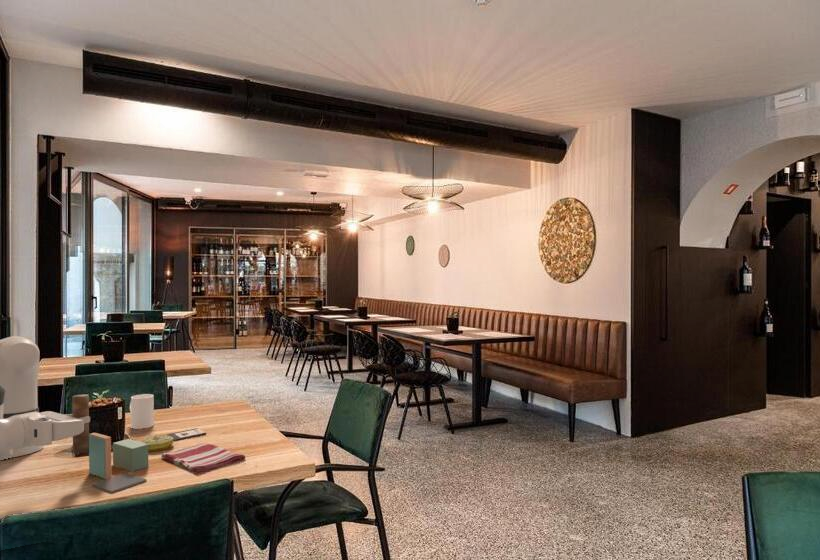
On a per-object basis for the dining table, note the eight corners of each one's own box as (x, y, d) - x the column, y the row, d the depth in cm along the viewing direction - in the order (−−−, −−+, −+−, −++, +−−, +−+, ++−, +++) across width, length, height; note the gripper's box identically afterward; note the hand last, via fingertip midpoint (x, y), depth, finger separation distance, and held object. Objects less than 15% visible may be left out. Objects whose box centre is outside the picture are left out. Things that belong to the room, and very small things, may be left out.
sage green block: (132, 471, 162) (132, 448, 162) (113, 465, 168) (112, 442, 168) (148, 466, 166) (148, 444, 166) (128, 460, 172) (128, 438, 172)
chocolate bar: (147, 438, 194) (197, 428, 207) (147, 440, 194) (197, 430, 207) (156, 443, 188) (206, 433, 200) (156, 446, 188) (206, 435, 200)
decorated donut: (172, 441, 192) (172, 431, 192) (174, 450, 182) (174, 439, 182) (140, 446, 187) (140, 435, 187) (140, 455, 178) (140, 443, 178)
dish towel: (197, 476, 159) (197, 467, 159) (159, 460, 174) (159, 451, 174) (246, 461, 172) (246, 453, 172) (207, 447, 187) (207, 439, 187)
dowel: (70, 453, 152) (69, 397, 152) (76, 449, 156) (76, 394, 156) (85, 452, 153) (85, 397, 153) (91, 448, 157) (91, 394, 157)
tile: (104, 479, 156) (104, 438, 156) (88, 473, 161) (88, 434, 161) (111, 477, 157) (110, 437, 157) (95, 471, 162) (94, 432, 162)
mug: (121, 426, 212) (121, 396, 212) (142, 421, 220) (142, 392, 220) (138, 430, 206) (137, 399, 206) (158, 425, 213) (158, 395, 213)
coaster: (111, 493, 146) (111, 491, 146) (92, 485, 151) (92, 483, 151) (146, 481, 154) (146, 479, 154) (127, 474, 160) (127, 472, 160)
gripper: (13, 434, 149) (66, 423, 161) (48, 446, 138) (102, 433, 150) (12, 412, 149) (66, 402, 161) (48, 422, 138) (102, 411, 150)
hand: (84, 417), depth 155 cm, fingers closed on dowel, 4 cm apart
